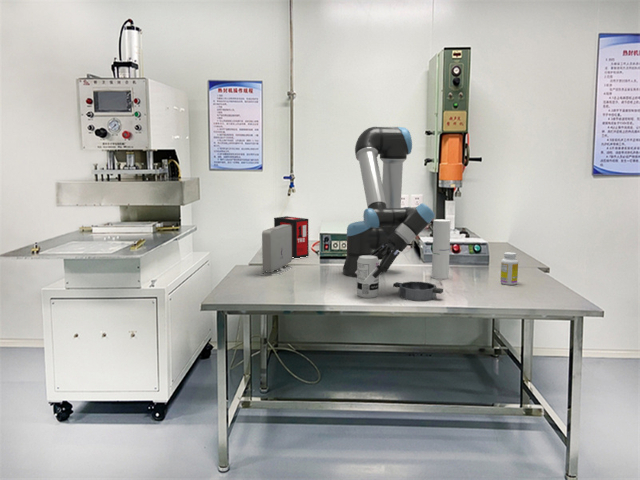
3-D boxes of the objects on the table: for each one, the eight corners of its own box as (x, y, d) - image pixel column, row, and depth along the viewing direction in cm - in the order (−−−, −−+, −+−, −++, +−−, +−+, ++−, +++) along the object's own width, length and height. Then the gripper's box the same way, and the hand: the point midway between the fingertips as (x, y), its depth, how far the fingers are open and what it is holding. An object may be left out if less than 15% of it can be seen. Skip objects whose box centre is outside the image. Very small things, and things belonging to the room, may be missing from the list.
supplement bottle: (517, 282, 231) (518, 252, 229) (517, 285, 225) (518, 255, 223) (500, 281, 233) (501, 251, 231) (499, 284, 227) (501, 254, 225)
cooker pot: (386, 296, 209) (387, 285, 208) (402, 288, 220) (402, 279, 219) (434, 303, 198) (434, 293, 198) (448, 295, 210) (448, 285, 209)
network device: (275, 276, 242) (274, 231, 238) (257, 275, 244) (256, 230, 241) (296, 265, 266) (296, 224, 262) (279, 264, 268) (279, 223, 265)
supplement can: (355, 293, 214) (355, 255, 211) (376, 292, 214) (377, 254, 212) (358, 298, 206) (359, 259, 203) (380, 298, 206) (381, 258, 204)
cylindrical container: (448, 279, 236) (450, 221, 233) (431, 278, 238) (433, 221, 234) (448, 275, 243) (450, 219, 240) (431, 275, 245) (433, 219, 241)
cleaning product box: (274, 255, 293) (274, 217, 290) (286, 253, 299) (286, 216, 296) (296, 259, 281) (296, 220, 278) (308, 256, 288) (308, 218, 285)
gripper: (419, 250, 198) (378, 293, 197) (396, 239, 222) (360, 278, 221) (405, 236, 196) (364, 279, 195) (384, 227, 220) (347, 265, 219)
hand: (361, 278), depth 208 cm, fingers open, 12 cm apart
